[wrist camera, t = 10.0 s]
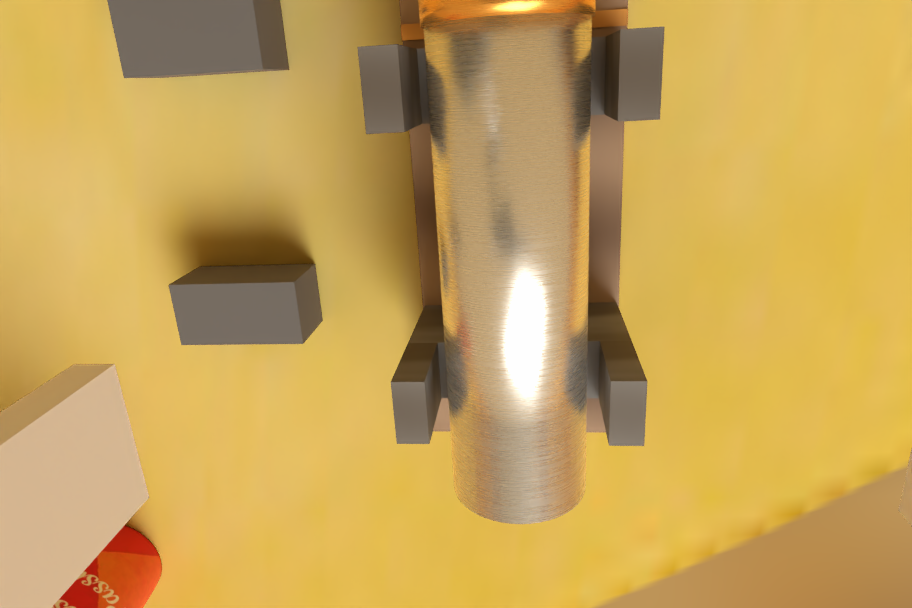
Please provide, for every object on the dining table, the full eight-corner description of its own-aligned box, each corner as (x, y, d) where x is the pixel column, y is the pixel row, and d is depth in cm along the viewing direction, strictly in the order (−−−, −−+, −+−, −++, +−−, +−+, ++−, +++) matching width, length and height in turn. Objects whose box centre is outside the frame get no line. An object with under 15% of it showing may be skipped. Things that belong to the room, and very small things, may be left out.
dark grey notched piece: (401, -55, 26) (337, -120, 18) (624, -74, 25) (676, -154, 16) (436, 416, 34) (403, 538, 25) (611, 417, 33) (641, 545, 24)
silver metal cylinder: (425, -26, 21) (403, -56, 16) (584, -37, 21) (610, -72, 16) (456, 445, 27) (446, 525, 22) (579, 443, 27) (597, 525, 22)
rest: (148, 5, 28) (107, -2, 25) (279, -5, 28) (250, -14, 25) (210, 322, 33) (181, 344, 30) (322, 320, 33) (303, 343, 30)
